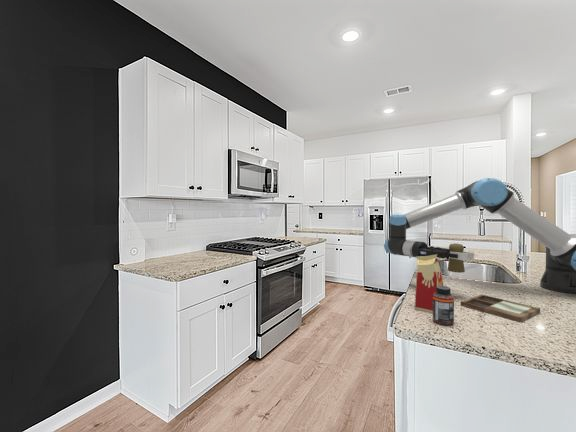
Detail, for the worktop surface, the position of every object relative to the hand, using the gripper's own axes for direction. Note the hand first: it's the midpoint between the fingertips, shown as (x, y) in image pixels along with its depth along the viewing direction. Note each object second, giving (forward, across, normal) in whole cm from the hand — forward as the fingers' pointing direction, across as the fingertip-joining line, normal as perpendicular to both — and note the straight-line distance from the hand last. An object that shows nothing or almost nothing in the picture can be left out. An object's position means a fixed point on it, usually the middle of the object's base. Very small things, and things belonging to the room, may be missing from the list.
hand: (470, 256), depth 111 cm
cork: (-5, 0, -7) cm, 9 cm away
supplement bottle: (+6, +28, -18) cm, 34 cm away
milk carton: (-4, +20, -18) cm, 27 cm away
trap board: (+10, 0, -18) cm, 20 cm away
